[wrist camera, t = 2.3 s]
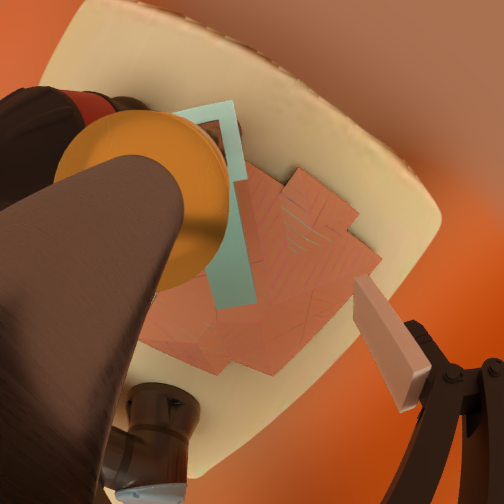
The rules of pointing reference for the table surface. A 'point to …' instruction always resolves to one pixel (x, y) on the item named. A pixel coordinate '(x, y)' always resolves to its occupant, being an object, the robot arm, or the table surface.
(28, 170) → the cola bottle
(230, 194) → the teal block with hole
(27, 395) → the post stand
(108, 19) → the table surface
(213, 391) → the table surface
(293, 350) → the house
